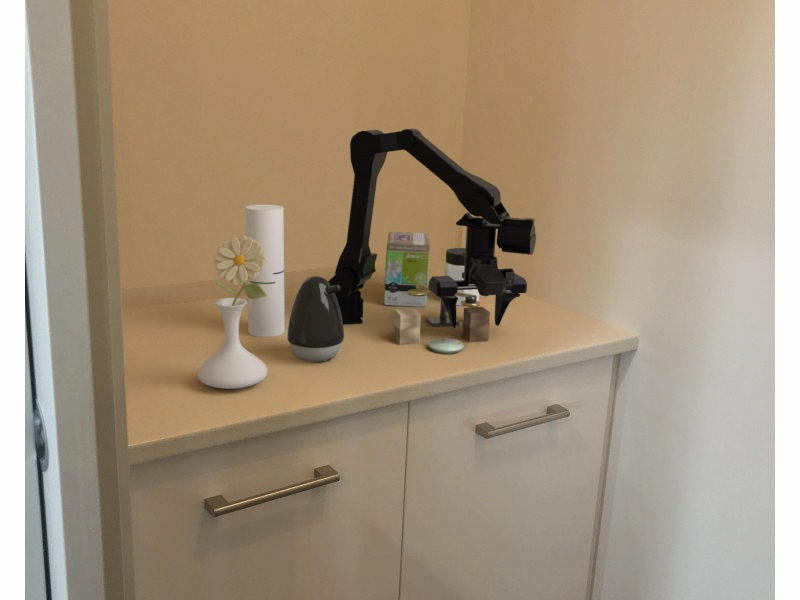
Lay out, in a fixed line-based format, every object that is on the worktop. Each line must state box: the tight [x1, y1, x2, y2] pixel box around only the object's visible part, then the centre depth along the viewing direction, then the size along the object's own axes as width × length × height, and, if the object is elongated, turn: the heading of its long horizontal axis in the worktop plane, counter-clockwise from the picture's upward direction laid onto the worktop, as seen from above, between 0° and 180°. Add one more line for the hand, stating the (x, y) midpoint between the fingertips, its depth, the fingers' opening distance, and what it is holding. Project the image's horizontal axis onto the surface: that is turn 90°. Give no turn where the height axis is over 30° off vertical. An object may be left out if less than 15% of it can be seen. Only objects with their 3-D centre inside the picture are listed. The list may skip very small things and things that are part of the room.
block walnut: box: [461, 306, 491, 343], centre depth 154 cm, size 4×4×6 cm
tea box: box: [383, 231, 431, 308], centre depth 181 cm, size 15×10×15 cm, turn 179°
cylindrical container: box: [245, 204, 286, 338], centre depth 152 cm, size 7×7×25 cm
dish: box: [428, 338, 464, 355], centre depth 148 cm, size 7×7×1 cm
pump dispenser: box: [286, 275, 345, 363], centre depth 139 cm, size 10×10×15 cm
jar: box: [443, 247, 480, 307], centre depth 180 cm, size 9×8×12 cm
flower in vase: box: [197, 234, 269, 390], centre depth 125 cm, size 13×11×25 cm
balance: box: [408, 284, 481, 328], centre depth 163 cm, size 16×4×9 cm, turn 106°
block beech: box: [393, 308, 422, 346], centre depth 151 cm, size 4×4×6 cm
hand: (475, 326), depth 154 cm, fingers open, 9 cm apart
